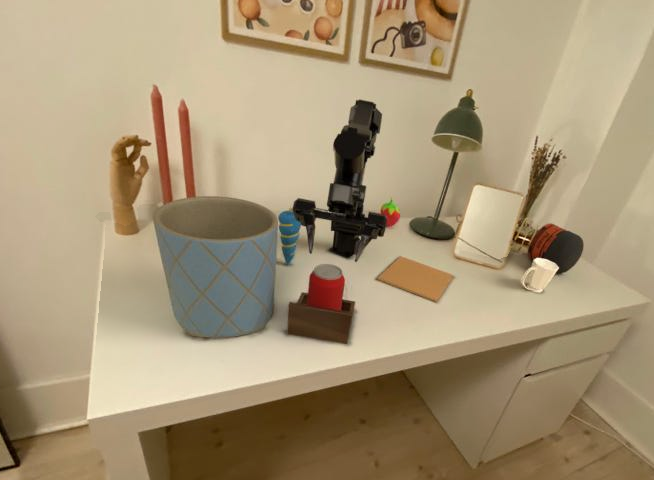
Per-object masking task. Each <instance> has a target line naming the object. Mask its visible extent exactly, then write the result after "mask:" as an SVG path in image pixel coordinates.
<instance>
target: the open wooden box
mask: <svg viewBox="0 0 654 480" xmlns="http://www.w3.org/2000/svg"><path fill="white" fill-rule="evenodd" d="M307 301H308V292H304V291H302V292H300V295H299V297H298V299H297V302H293V301H289V303H288V309H287V311H288V312H287V335H290V336H291V335H292V336H297V337H303V338H308V339H315V340H321V341H326V342H331V343H332V342H333V343H339V344H345V345H347V344H348V343H349V342H348V341H349V337H350V331H351V327H352V322H353V318H354V311H355V307H356V306H355V305H356V301H355V300H349V299H344V298H343V300H342V307H341V311H339V310H333V309H328V308H322V307H316V306H310V305H307Z"/></svg>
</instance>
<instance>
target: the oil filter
mask: <svg viewBox="0 0 654 480" xmlns="http://www.w3.org/2000/svg"><path fill="white" fill-rule="evenodd" d="M584 247H585V243H584V240H583V237H581V236H580V235H579V234H577V233H574V232H573V231H570V230H566V229H564V228H562V227H560V226H558V225H556V224H554V223H550V222H549V223H546V224H544V225H543V226H542V227H540V228H539V229H538V230H537V231H536V232H535V234H534V235H533V237H532V238H531V240H530V242H529V244H528V248H527V257H528V259H530V260H532V261H533V260H534V259H536V258H542V259H547V260H549V261H551V262H554V263H555V264H556V265H557V266H558V267H559V269H558V270H557V272H556V273H555V275H561V274H565V273H566V272H568V271H570V270H571V269H572V268H573V267H574V266H576V264H577V263H578V262H579V260H580V259H581V258H582V254H583V252H584Z"/></svg>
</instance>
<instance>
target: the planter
mask: <svg viewBox="0 0 654 480" xmlns="http://www.w3.org/2000/svg"><path fill="white" fill-rule="evenodd" d="M152 222H153V226H154V227H153V228H154V231H155V237H156V240H157V241H156V242H157V245H158V250H159V255H160V259H161V264H162V268H163V273H164V277H165V282H166V286H167V290H168V291H167V292H168V295H169V299H170V304H171V309H172V314H173V316H174V318H175V320H176V322H177V323H178V324H179V325H180V326H181V327H182V329H183V330H184V331H185V333H187V334H188V335H189V336H192V337H198V338H199V337H200V338H212V339H213V338H216V339H217V338H218V339H221V338H234V337H239V336H245V335H248V334H253V333H256V332H259V331H261V330H263V329H264V328H265V327H266V325H267V323H268V322H269V320H270V318H271V317H272V314H273V311H274V302H275V288H276V287H275V285H276V271H277V270H276V269H277V254H278V232H279V219H278V217H277V215H276V214H275V212H274V211H272V210H271V209H269V208H268V207H265V206H264V205H261V204H259V203H256V202H253V201H249V200H245V199H242V198H237V197H229V196H219V195H218V196H215V195H204V196H201V195H200V196H191V197H184V198H179V199H174V200H172V201H169V202H165V203H164V204H162V205H160V206H159V207H157V208H156V209H155V211H154V212H153V214H152Z"/></svg>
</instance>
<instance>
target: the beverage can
mask: <svg viewBox="0 0 654 480" xmlns="http://www.w3.org/2000/svg"><path fill="white" fill-rule="evenodd" d="M308 277H309V278H308V289H307V293H308V301H307V305H310V306H316V307H322V308H328V309H333V310H339V311H341V307H342V300H343V299H344V292H345V283H346V278H345V276H344V273H343V270H342V269H341V268H340V267H339V266H337V265H335V264H331V263H320V264H317V265H315V266H314V268H313V269H312V271H311V273H310V274H309V276H308Z"/></svg>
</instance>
